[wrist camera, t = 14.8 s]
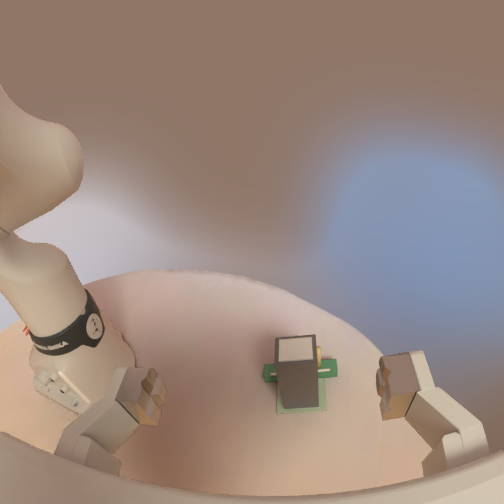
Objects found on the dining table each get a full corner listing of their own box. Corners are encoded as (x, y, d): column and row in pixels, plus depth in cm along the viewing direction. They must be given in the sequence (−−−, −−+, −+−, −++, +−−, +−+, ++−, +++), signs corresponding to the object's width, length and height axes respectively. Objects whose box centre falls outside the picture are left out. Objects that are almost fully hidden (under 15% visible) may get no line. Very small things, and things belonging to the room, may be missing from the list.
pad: (276, 413, 36) (276, 413, 36) (277, 381, 41) (277, 381, 41) (326, 410, 35) (326, 409, 35) (324, 378, 40) (324, 377, 40)
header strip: (264, 381, 41) (258, 358, 38) (265, 370, 43) (259, 346, 40) (337, 376, 39) (338, 352, 36) (335, 365, 41) (336, 340, 38)
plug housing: (283, 409, 37) (274, 364, 31) (284, 384, 40) (275, 336, 34) (318, 406, 36) (317, 361, 30) (317, 381, 39) (315, 333, 34)
